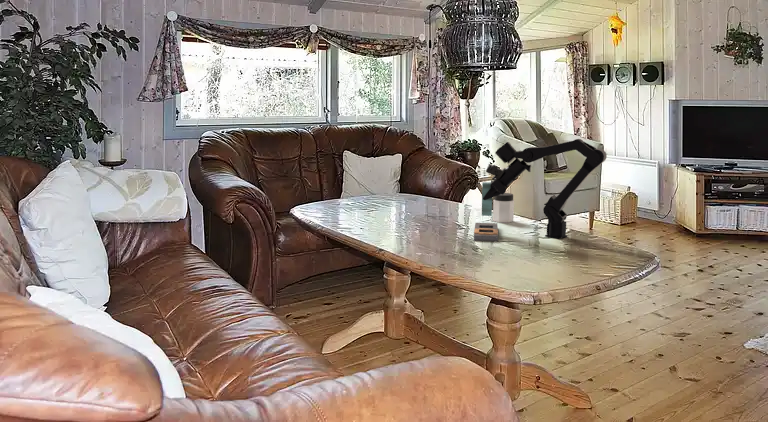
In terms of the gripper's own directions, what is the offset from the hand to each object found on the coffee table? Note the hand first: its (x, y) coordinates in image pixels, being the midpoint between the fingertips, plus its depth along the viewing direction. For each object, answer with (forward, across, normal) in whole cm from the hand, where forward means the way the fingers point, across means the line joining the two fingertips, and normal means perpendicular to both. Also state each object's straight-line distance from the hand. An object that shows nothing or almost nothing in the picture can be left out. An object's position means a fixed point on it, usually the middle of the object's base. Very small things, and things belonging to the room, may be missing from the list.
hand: (483, 198), depth 259 cm
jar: (+4, -25, +15) cm, 30 cm away
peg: (+4, 0, +6) cm, 7 cm away
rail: (+8, +5, +10) cm, 14 cm away
